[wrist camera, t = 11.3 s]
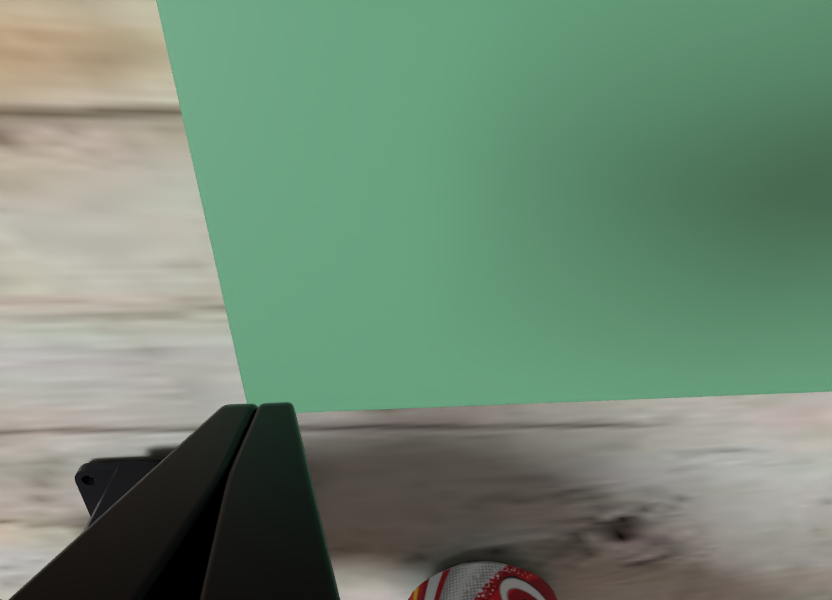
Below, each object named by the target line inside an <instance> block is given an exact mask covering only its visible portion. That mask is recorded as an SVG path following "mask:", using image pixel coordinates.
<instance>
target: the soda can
mask: <svg viewBox="0 0 832 600" xmlns="http://www.w3.org/2000/svg"><path fill="white" fill-rule="evenodd" d="M408 600H557V598H556V596H555V593H554V591H553V590H552V589H551V587H550V586H549V585H548V584H547V583H546V582H545V581H544V580H543V579H542V578H540V577H538V576H537V575H535V574H533V573H531V572H529V571H527V570H524V569H522V568H519V567H515V566H512V565H508V564H504V563H500V562H494V561H473V562H466V563H462V564H458V565H455V566H453V567H450V568H448V569H446V570H444V571H442V572H439V573H438V574H436V575H434V576H432V577H430V578H429V579H427V580H426V581H424V582H423V583H422V584H420V585H419V586H418V587H417V588H416V589H415V590H414V591H413V593H412V594H411V596H410V597H409V599H408Z"/></svg>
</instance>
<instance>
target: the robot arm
mask: <svg viewBox="0 0 832 600" xmlns="http://www.w3.org/2000/svg"><path fill="white" fill-rule="evenodd" d="M90 476H91V477H90ZM75 482H76V484H77V486H78V489H79V491H80V493H81V496H82V498H83V500H84V502H85V505H86V507H87V509H88V512H89V514H90V516H91V518H90V520H89V522H88V523H87V525H86V527H85V529H84V531H83V533H82V534H81V535H79V536H78V537H77V538H76V539H75V540H74V541H73V542H72V543H71V544H70V545H68V546H67V547H66V548H65V549H64V550H63V551H62V552H61V553H60V554H58V555H57V556H56V557H55V558H54V559H53V560H52V561H51V562H50V563H49V564H47V565H46V566H45V567H44V568H43V569H42V570H41V571H40V572H39V573H37V574H36V575H35V576H34V577H33V578H32V579H31V580H30V581H29V582H28V583H26V584H25V585H24V586H23V587H22V588H21V589H20V590H19V591H18V592H16V593H15V594H14V595H13V596H12V597H11V598H10V599H9V600H340V597H339V593H338V588H337V584H336V580H335V576H334V572H333V568H332V563H331V559H330V555H329V551H328V547H327V543H326V538H325V534H324V530H323V526H322V522H321V517H320V513H319V509H318V505H317V501H316V497H315V492H314V488H313V484H312V480H311V476H310V472H309V467H308V463H307V459H306V455H305V451H304V447H303V442H302V438H301V434H300V430H299V426H298V421H297V417H296V413H295V409H294V406H293V404H292V403H290V402H277V403H263V404H261V405H260V406H257V405H255V404H229V405H225V406H223V407H221V408H220V409H219V410H218V411H216V412H215V413H214V414H213V415H212V416H211V417H210V418H209V419H208V420H207V421H205V422H204V423H203V424H202V425H201V426H200V427H199V428H198V429H197V430H195V431H194V432H193V433H192V434H191V435H190V436H189V437H188V438H187V439H186V440H184V441H183V442H182V443H181V444H180V445H179V446H178V447H177V448H176V449H174V450H173V451H172V452H171V453H170V454H169V455H168V456H167V457H166V458H165V459H163V460H150V461H125V462H99V463H86V464H83V465H82V466H81V467H80V468H79V470H78V472H77V473H76V475H75ZM0 600H1V599H0Z"/></svg>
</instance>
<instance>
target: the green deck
mask: <svg viewBox="0 0 832 600" xmlns="http://www.w3.org/2000/svg"><path fill="white" fill-rule="evenodd" d="M156 2H157V6H158V10H159V15H160V19H161V24H162V28H163V33H164V37H165V41H166V46H167V50H168V55H169V59H170V64H171V68H172V73H173V77H174V81H175V86H176V90H177V95H178V99H179V104H180V108H181V112H182V117H183V121H184V126H185V130H186V135H187V139H188V144H189V148H190V152H191V157H192V161H193V166H194V170H195V175H196V179H197V184H198V188H199V192H200V197H201V201H202V206H203V210H204V215H205V219H206V223H207V228H208V232H209V237H210V241H211V246H212V250H213V255H214V259H215V263H216V268H217V272H218V277H219V281H220V286H221V290H222V294H223V299H224V303H225V308H226V312H227V317H228V321H229V326H230V330H231V334H232V339H233V343H234V348H235V352H236V357H237V361H238V365H239V370H240V374H241V379H242V383H243V388H244V392H245V397H246V401H247V404H255V405H257V406H260V405H261V404H263V403H277V402H290V403H292V404H293V406H294V409H295V413H301V412H326V411H352V410H377V409H402V408H427V407H452V406H477V405H502V404H527V403H552V402H578V401H603V400H628V399H653V398H678V397H703V396H728V395H753V394H778V393H804V392H829V391H832V0H156Z"/></svg>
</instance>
